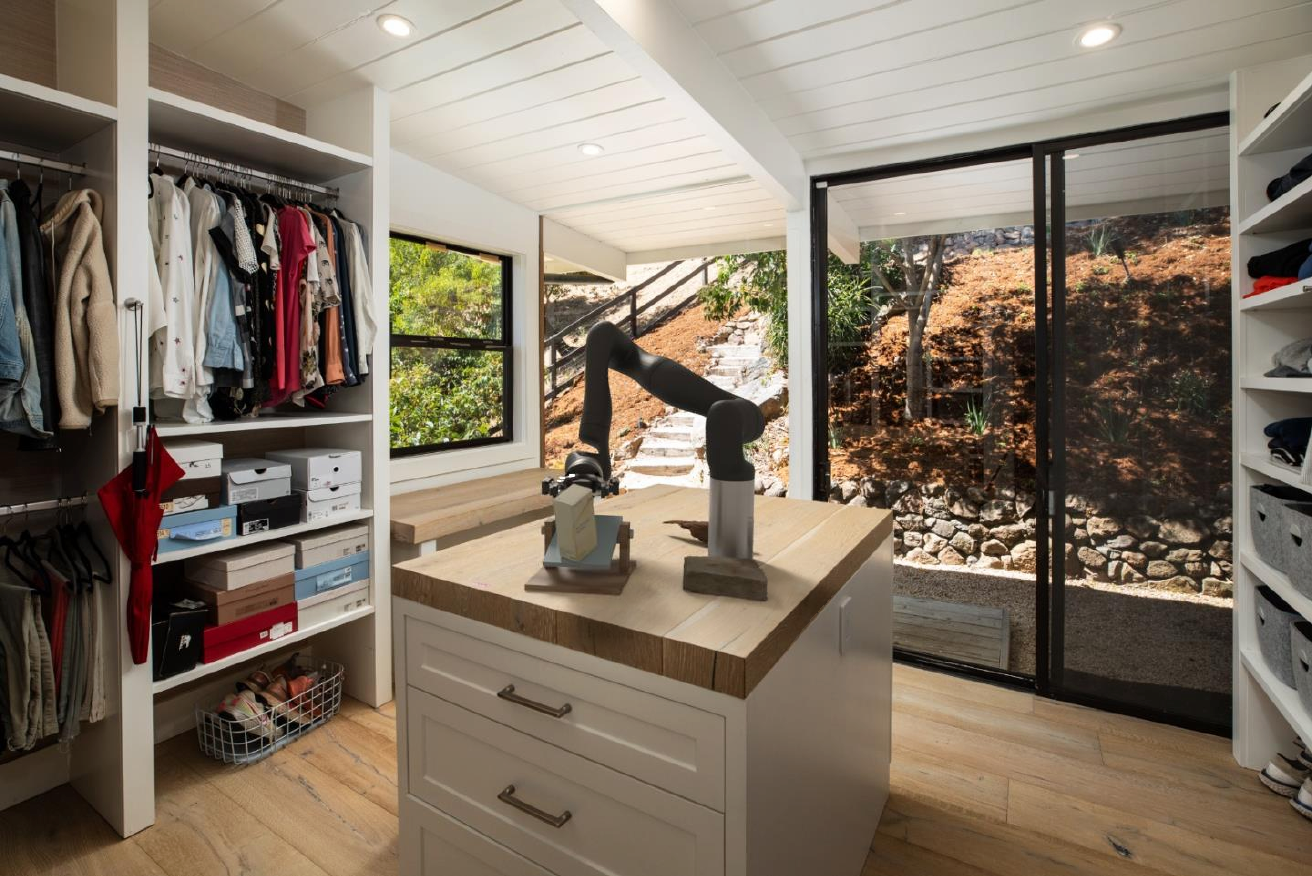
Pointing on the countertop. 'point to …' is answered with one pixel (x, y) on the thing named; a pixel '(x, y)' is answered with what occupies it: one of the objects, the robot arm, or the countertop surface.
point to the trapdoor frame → (585, 569)
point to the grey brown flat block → (725, 577)
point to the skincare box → (575, 522)
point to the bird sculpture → (694, 528)
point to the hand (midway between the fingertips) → (578, 492)
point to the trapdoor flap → (599, 555)
